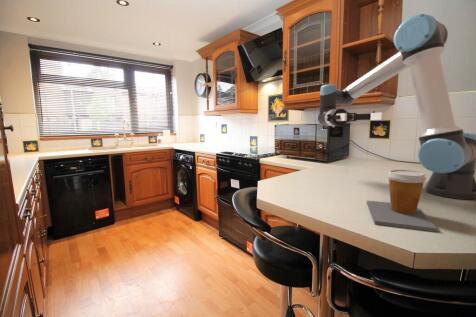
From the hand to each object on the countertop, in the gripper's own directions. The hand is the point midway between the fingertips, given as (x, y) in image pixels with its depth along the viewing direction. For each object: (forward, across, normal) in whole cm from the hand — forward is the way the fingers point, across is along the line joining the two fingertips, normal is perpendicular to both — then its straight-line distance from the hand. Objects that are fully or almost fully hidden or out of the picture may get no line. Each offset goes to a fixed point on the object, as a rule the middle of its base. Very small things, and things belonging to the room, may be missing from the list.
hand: (364, 116), depth 85 cm
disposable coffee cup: (+17, -4, -29) cm, 34 cm away
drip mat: (+18, -1, -30) cm, 35 cm away
